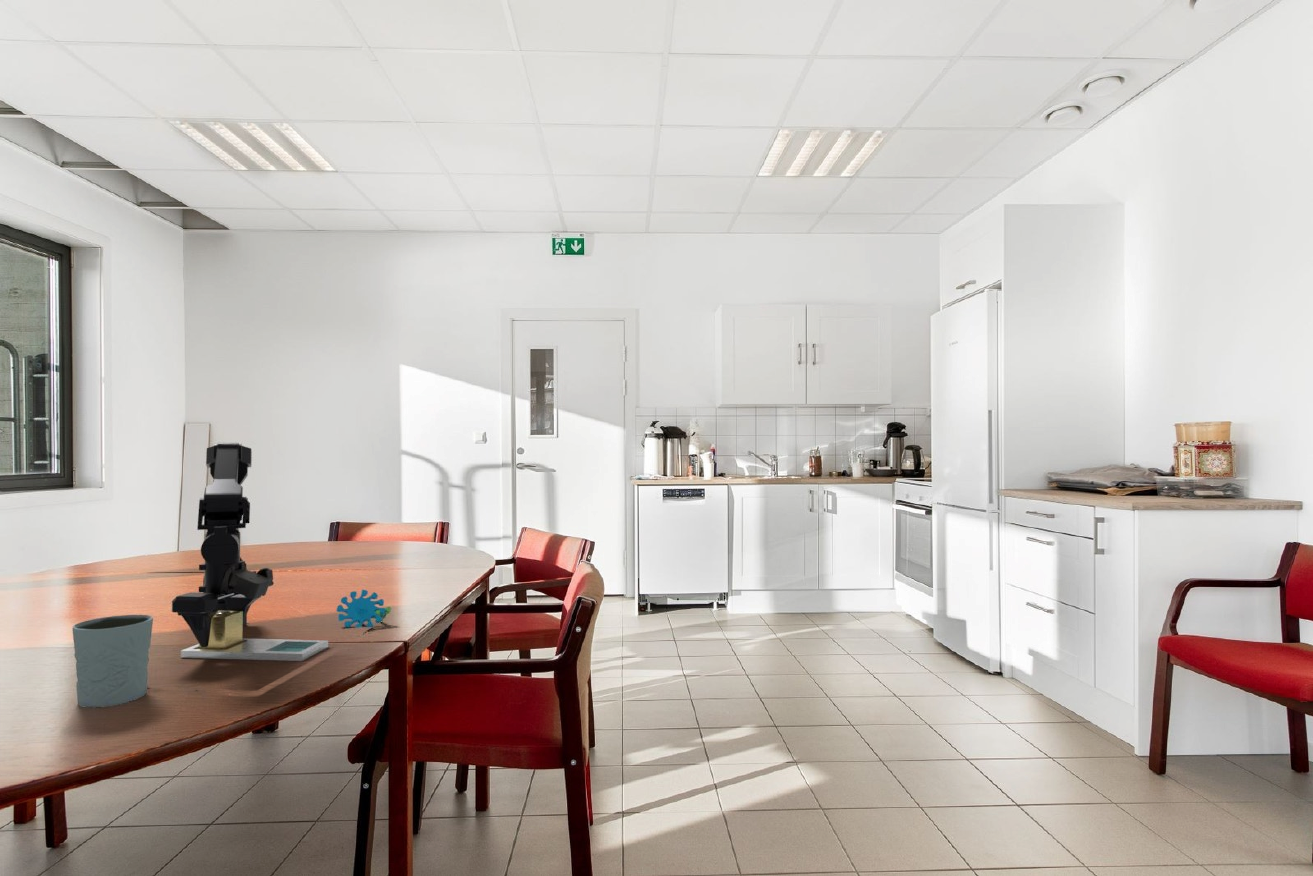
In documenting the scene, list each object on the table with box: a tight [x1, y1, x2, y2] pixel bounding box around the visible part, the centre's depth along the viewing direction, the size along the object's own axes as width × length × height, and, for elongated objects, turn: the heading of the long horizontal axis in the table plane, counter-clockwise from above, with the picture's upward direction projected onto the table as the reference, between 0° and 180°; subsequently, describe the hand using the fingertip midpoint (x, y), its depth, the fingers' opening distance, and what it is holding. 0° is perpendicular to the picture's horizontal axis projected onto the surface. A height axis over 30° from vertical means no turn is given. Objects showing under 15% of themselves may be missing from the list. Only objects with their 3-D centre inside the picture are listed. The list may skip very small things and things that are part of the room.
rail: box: [180, 637, 329, 662], centre depth 134 cm, size 23×9×2 cm, turn 86°
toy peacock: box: [335, 589, 392, 629], centre depth 157 cm, size 11×6×10 cm
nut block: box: [198, 611, 244, 650], centre depth 134 cm, size 5×5×7 cm
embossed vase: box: [72, 614, 154, 708], centre depth 111 cm, size 10×10×12 cm
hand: (221, 640), depth 134 cm, fingers open, 9 cm apart
